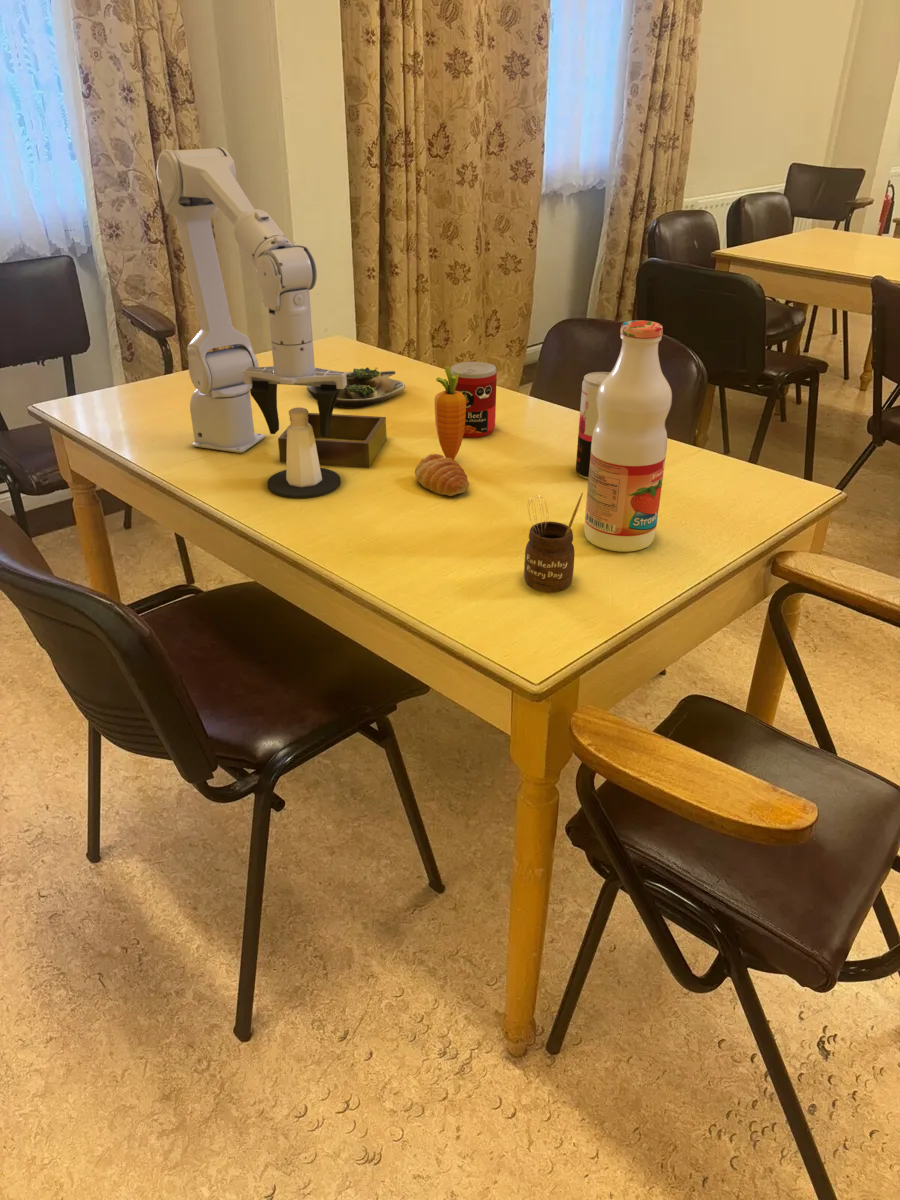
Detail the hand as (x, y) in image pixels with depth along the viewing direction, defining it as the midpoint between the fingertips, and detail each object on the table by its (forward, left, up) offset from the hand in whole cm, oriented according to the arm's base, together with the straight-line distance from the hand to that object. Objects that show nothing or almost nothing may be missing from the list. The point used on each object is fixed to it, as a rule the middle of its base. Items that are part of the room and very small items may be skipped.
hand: (299, 433), depth 131 cm
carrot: (+18, +15, -8) cm, 25 cm away
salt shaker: (0, 0, -8) cm, 8 cm away
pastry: (+20, +6, -8) cm, 23 cm away
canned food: (+17, +30, -8) cm, 36 cm away
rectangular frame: (-1, +14, -8) cm, 16 cm away
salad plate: (-11, +42, -8) cm, 45 cm away
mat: (0, 0, -8) cm, 8 cm away
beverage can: (+41, +18, -8) cm, 46 cm away
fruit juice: (+48, -3, -8) cm, 49 cm away
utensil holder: (+42, -18, -8) cm, 46 cm away
